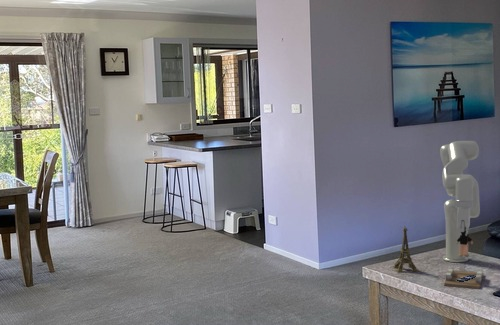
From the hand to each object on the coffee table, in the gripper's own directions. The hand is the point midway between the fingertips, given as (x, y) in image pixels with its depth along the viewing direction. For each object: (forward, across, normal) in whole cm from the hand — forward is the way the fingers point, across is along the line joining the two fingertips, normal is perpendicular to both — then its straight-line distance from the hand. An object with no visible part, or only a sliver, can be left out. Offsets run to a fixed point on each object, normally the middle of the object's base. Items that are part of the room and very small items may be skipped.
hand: (464, 242), depth 293 cm
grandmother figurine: (+6, 0, 0) cm, 6 cm away
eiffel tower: (+18, -11, -29) cm, 36 cm away
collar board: (+18, 0, 0) cm, 18 cm away
